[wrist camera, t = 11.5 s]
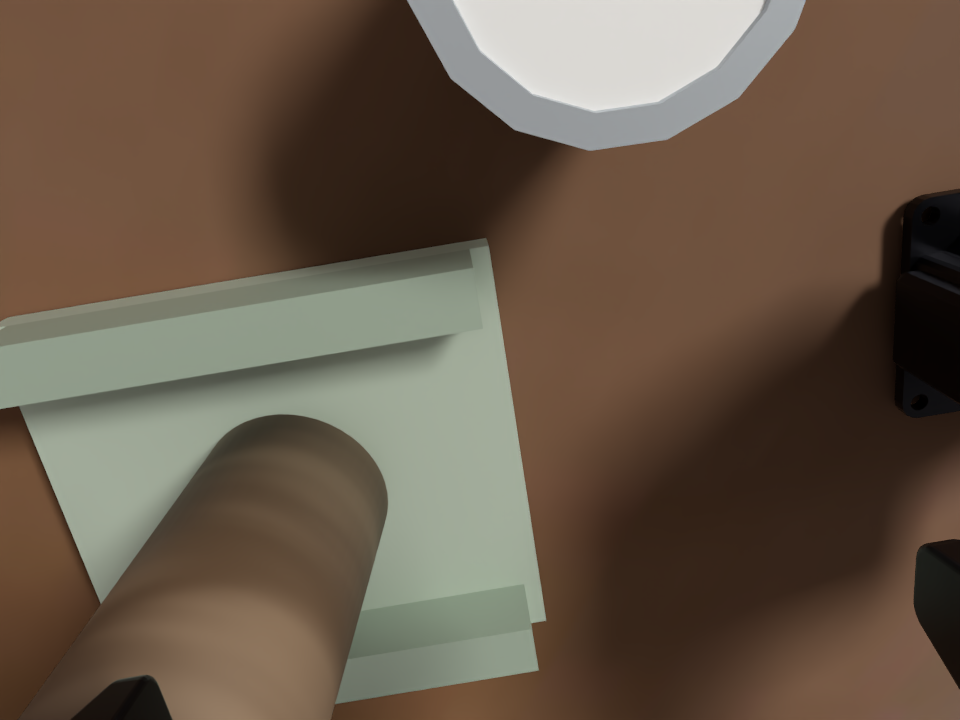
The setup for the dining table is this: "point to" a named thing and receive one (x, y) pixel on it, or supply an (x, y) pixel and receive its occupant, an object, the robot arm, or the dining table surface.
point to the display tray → (319, 395)
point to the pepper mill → (241, 583)
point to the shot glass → (605, 61)
